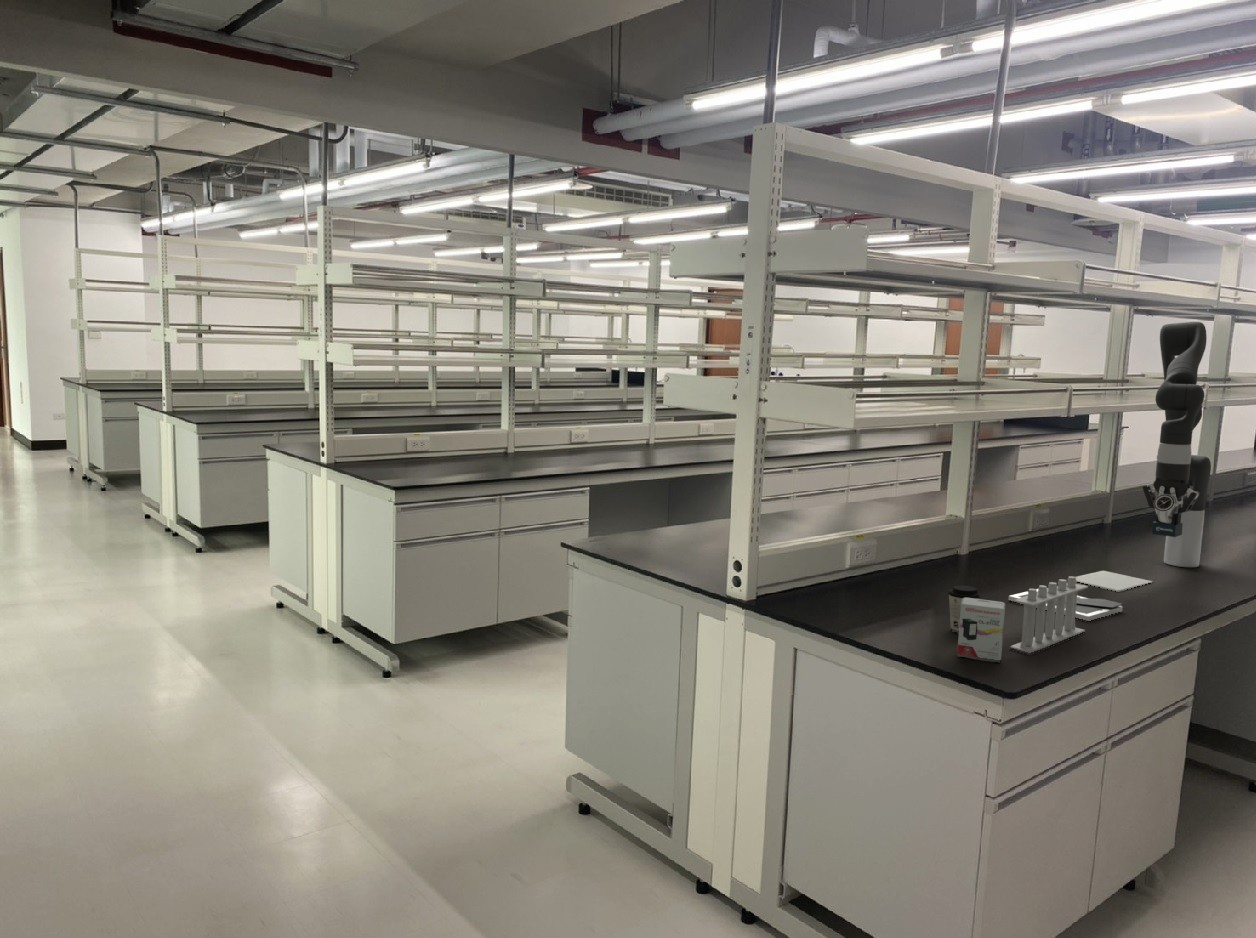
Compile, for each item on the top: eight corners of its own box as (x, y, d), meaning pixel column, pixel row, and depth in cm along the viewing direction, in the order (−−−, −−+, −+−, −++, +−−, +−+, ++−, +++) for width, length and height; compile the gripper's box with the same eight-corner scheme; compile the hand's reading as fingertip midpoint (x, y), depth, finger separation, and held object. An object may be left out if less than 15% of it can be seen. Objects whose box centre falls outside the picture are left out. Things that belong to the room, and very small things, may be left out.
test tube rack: (1065, 628, 208) (1070, 572, 207) (1084, 633, 205) (1089, 576, 203) (1009, 649, 193) (1013, 589, 191) (1029, 655, 190) (1034, 594, 188)
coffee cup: (952, 635, 201) (955, 592, 200) (940, 626, 208) (943, 584, 207) (983, 635, 202) (986, 592, 200) (970, 626, 209) (972, 584, 207)
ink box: (956, 657, 187) (959, 602, 186) (957, 650, 192) (961, 596, 190) (1000, 664, 184) (1004, 608, 182) (1001, 656, 188) (1005, 602, 187)
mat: (1102, 572, 261) (1102, 570, 261) (1152, 583, 250) (1152, 581, 250) (1067, 580, 251) (1068, 578, 251) (1118, 592, 240) (1118, 590, 240)
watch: (1148, 535, 236) (1151, 493, 235) (1162, 531, 241) (1164, 490, 239) (1172, 538, 232) (1174, 495, 230) (1185, 533, 236) (1187, 492, 235)
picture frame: (1121, 614, 222) (1042, 595, 239) (1122, 603, 222) (1043, 584, 239) (1088, 625, 213) (1008, 603, 230) (1089, 613, 213) (1008, 593, 230)
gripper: (1209, 463, 230) (1203, 529, 232) (1153, 456, 241) (1147, 520, 244) (1195, 465, 226) (1189, 532, 228) (1138, 458, 237) (1132, 523, 240)
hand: (1167, 525), depth 236 cm, fingers closed on watch, 3 cm apart
